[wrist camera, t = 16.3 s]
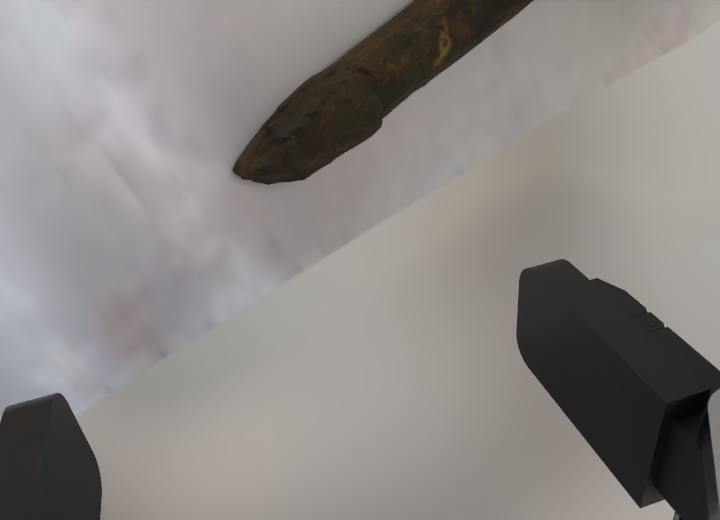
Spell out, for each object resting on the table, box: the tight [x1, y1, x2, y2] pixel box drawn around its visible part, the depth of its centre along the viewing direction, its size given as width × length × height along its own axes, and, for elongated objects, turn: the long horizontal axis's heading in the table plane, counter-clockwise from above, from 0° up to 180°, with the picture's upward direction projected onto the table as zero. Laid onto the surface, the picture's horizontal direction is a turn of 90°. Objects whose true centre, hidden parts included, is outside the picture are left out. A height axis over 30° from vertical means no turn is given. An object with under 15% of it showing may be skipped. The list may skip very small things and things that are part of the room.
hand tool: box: [233, 0, 533, 185], centre depth 33 cm, size 23×5×6 cm, turn 120°
